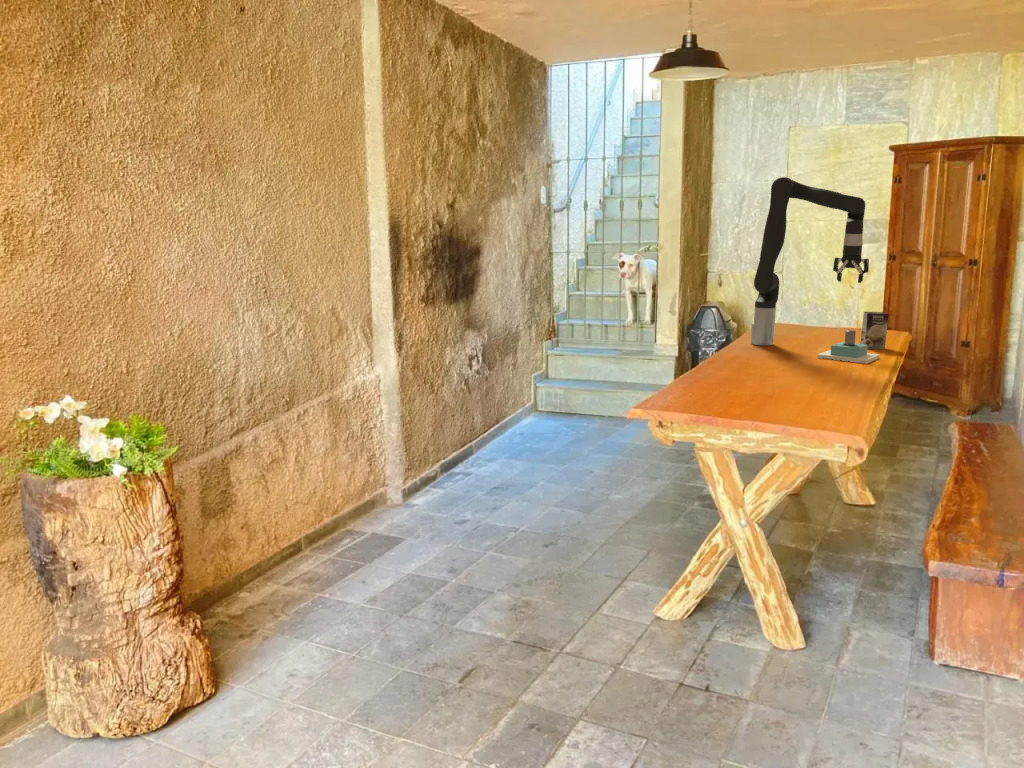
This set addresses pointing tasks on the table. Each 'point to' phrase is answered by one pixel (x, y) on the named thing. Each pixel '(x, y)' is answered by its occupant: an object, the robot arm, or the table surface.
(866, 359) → the socket board
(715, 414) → the table surface
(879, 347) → the coffee box
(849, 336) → the dark grey tall block
